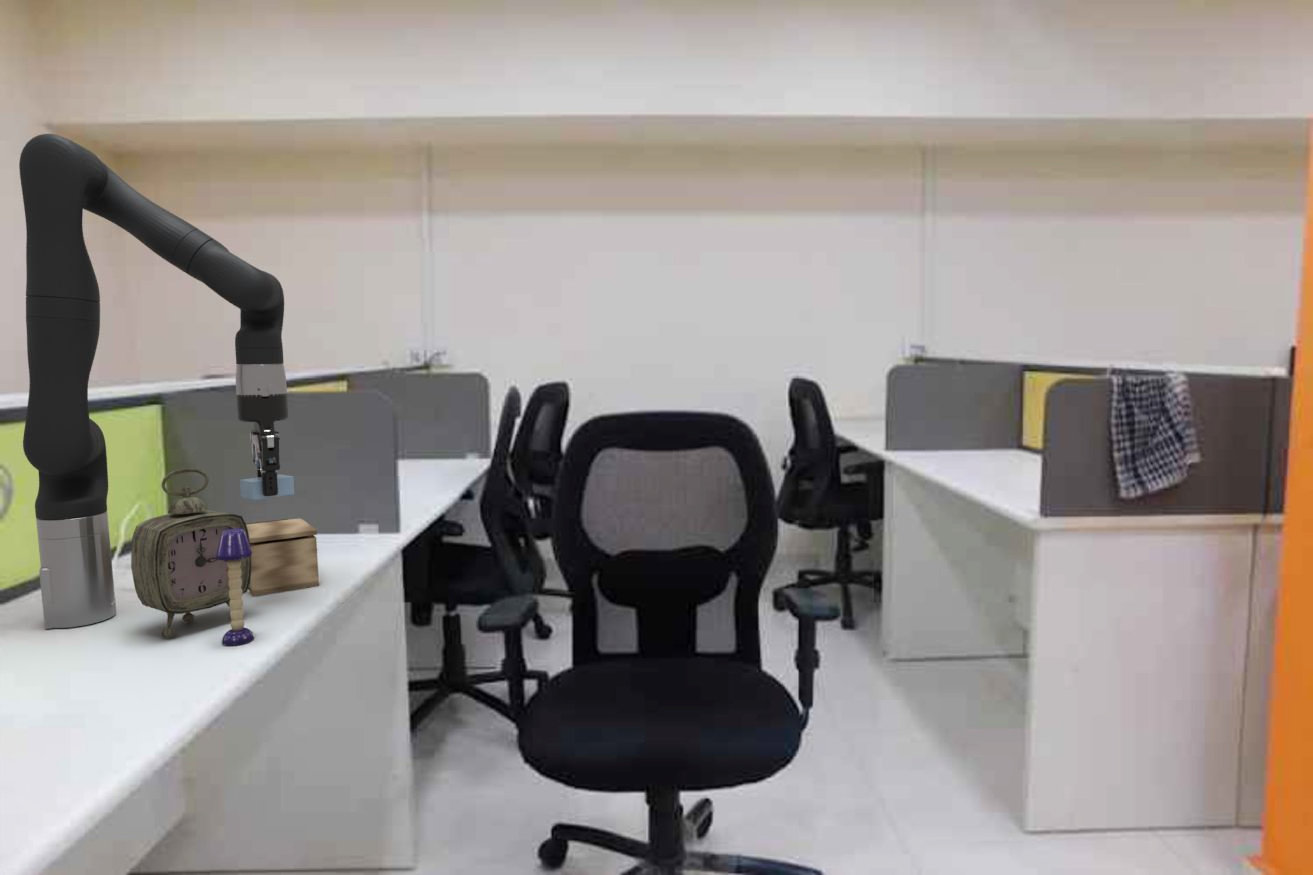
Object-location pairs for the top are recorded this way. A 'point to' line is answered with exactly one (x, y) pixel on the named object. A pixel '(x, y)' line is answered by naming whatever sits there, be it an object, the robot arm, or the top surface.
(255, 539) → the lid
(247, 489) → the light blue block
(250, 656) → the top surface
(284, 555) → the crate
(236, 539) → the toy lamp
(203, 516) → the tabletop clock
